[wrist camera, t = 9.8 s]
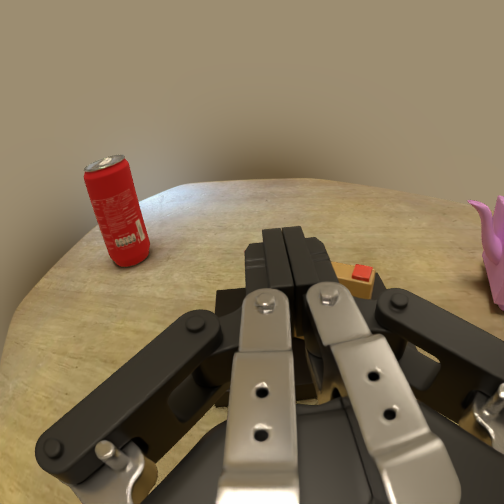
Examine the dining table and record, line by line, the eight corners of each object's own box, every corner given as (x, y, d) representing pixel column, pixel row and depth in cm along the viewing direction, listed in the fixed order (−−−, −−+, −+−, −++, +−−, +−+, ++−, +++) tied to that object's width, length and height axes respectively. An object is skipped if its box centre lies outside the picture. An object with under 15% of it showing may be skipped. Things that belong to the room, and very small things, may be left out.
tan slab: (263, 328, 22) (254, 256, 19) (271, 315, 23) (265, 244, 20) (357, 354, 19) (372, 281, 16) (362, 339, 20) (376, 266, 17)
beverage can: (108, 272, 34) (74, 175, 27) (117, 248, 38) (90, 161, 32) (149, 265, 34) (119, 163, 28) (155, 242, 38) (131, 150, 32)
